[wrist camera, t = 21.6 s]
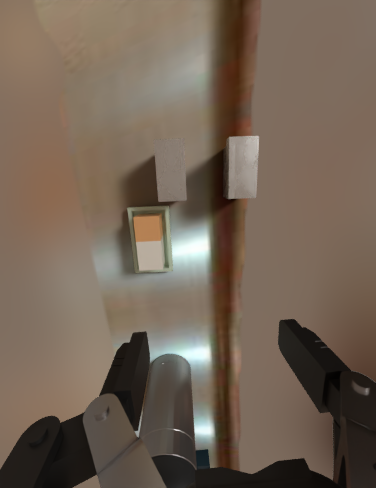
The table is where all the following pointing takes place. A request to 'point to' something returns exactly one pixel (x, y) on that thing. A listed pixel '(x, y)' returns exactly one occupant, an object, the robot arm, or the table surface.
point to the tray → (166, 234)
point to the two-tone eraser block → (149, 241)
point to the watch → (202, 459)
